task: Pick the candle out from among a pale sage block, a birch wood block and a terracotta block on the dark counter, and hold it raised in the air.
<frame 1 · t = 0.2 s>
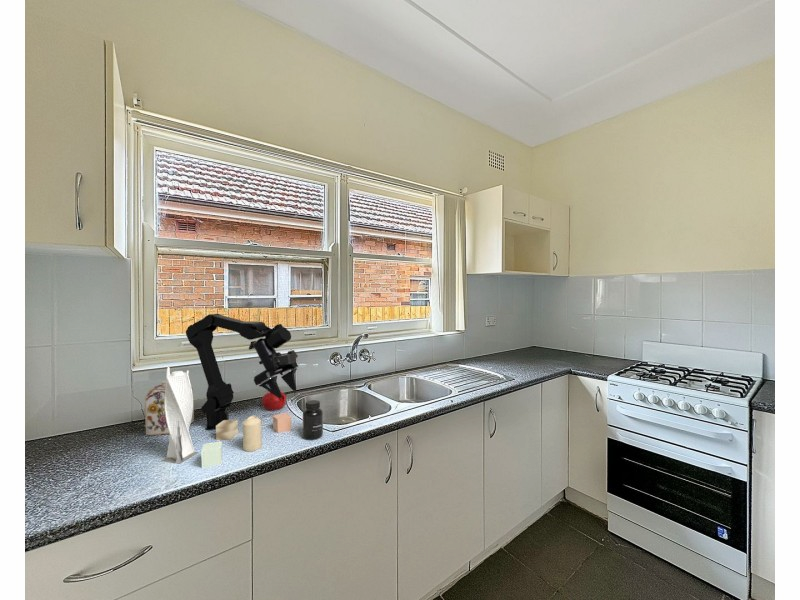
hand: (288, 393, 121), 15 cm above the table, tool tilted 30°, fingers open, 9 cm apart
terracotta block: (282, 429, 128), on the table
supplement bottle: (313, 436, 122), on the table
sage block: (212, 462, 104), on the table
pomegranate: (274, 408, 150), on the table
skyscraper: (180, 457, 109), on the table
candle: (252, 448, 113), on the table
birch block: (227, 437, 122), on the table
decorative jar: (171, 429, 129), on the table
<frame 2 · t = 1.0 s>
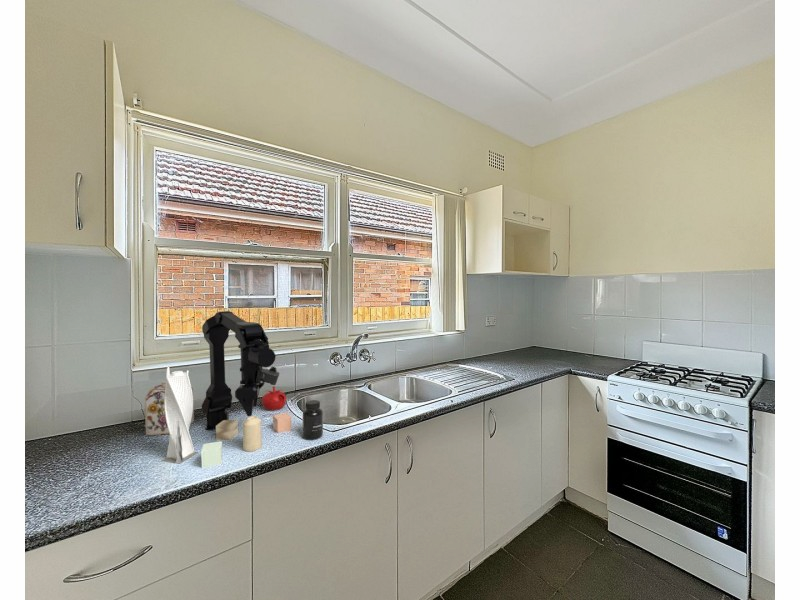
hand: (252, 410, 113), 12 cm above the table, tool pointing down, fingers open, 9 cm apart
nothing on the table moved.
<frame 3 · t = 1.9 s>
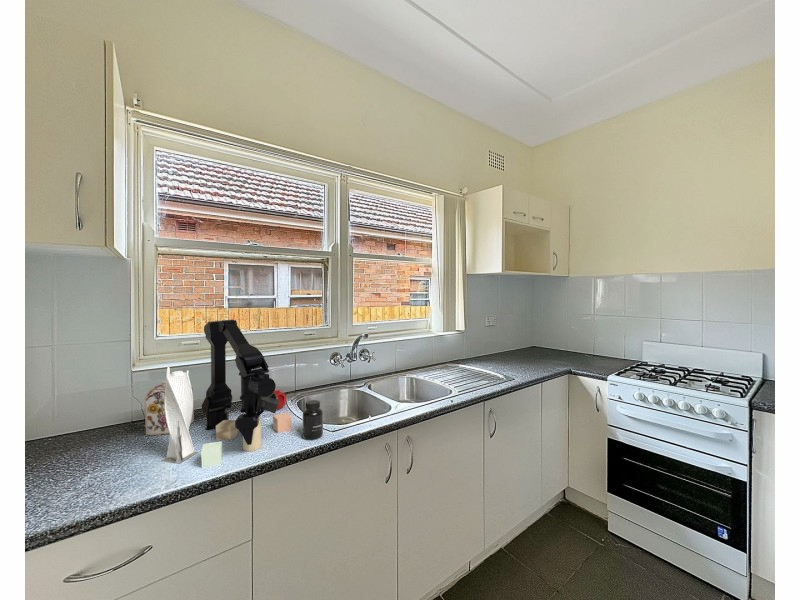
hand: (252, 438, 113), 3 cm above the table, tool pointing down, fingers open, 9 cm apart
nothing on the table moved.
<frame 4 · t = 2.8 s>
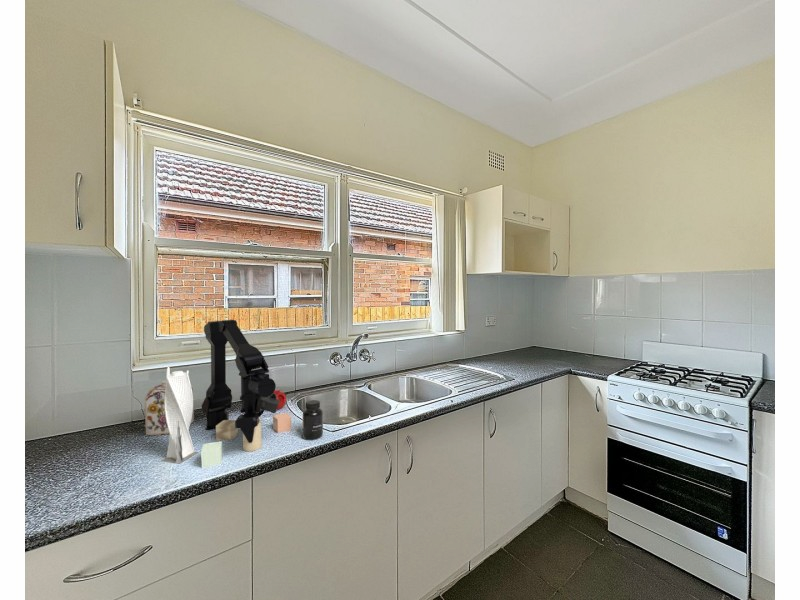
hand: (252, 438, 113), 3 cm above the table, tool pointing down, fingers closed on candle, 5 cm apart
candle: (252, 448, 113), on the table, touching gripper
everything else where it was.
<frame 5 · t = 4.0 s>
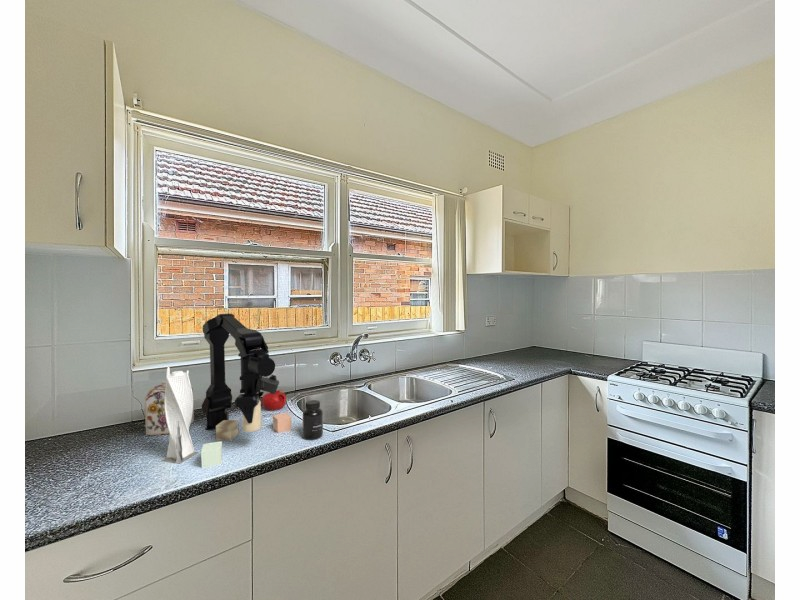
hand: (251, 419, 113), 9 cm above the table, tool pointing down, fingers closed on candle, 5 cm apart
candle: (252, 429, 113), point 6 cm above the table, touching gripper
everything else where it was.
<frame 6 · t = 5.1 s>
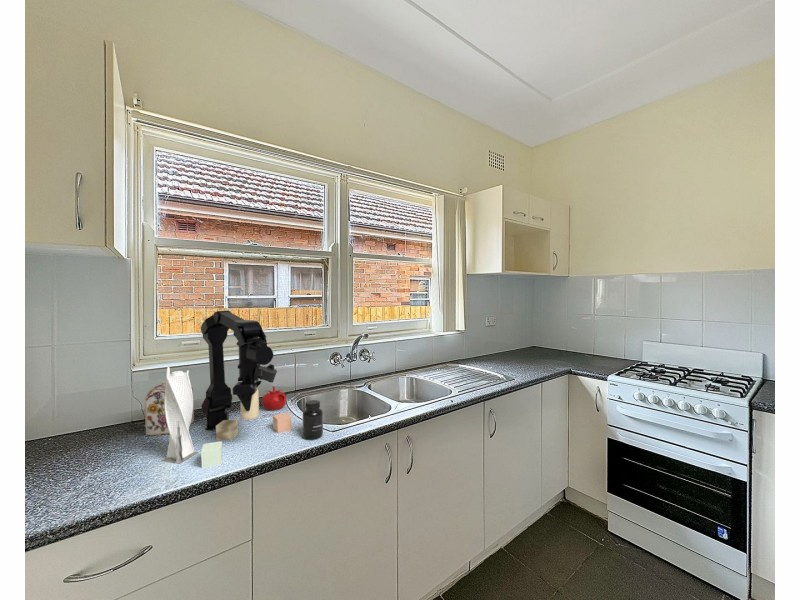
hand: (249, 407, 114), 13 cm above the table, tool pointing down, fingers closed on candle, 5 cm apart
candle: (249, 417, 114), point 9 cm above the table, touching gripper
everything else where it was.
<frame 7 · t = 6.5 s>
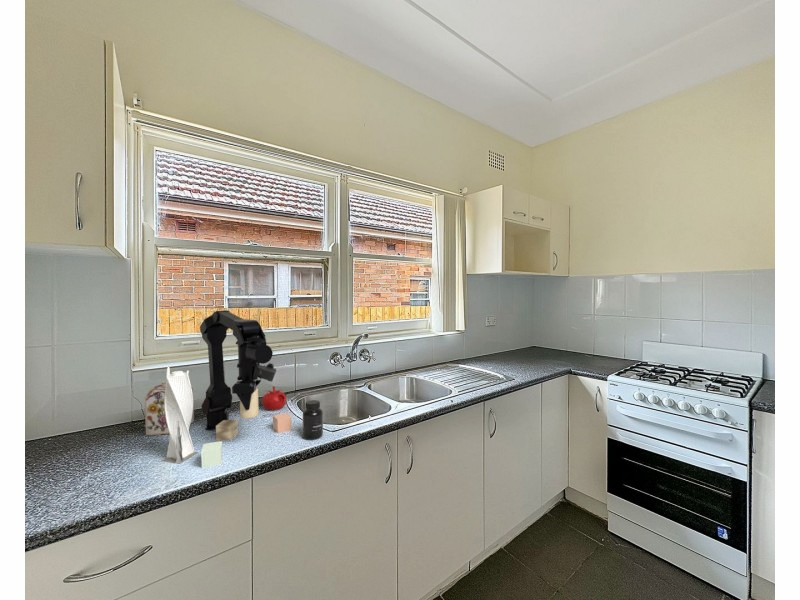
hand: (249, 406, 115), 13 cm above the table, tool pointing down, fingers closed on candle, 5 cm apart
candle: (249, 416, 115), point 10 cm above the table, touching gripper
everything else where it was.
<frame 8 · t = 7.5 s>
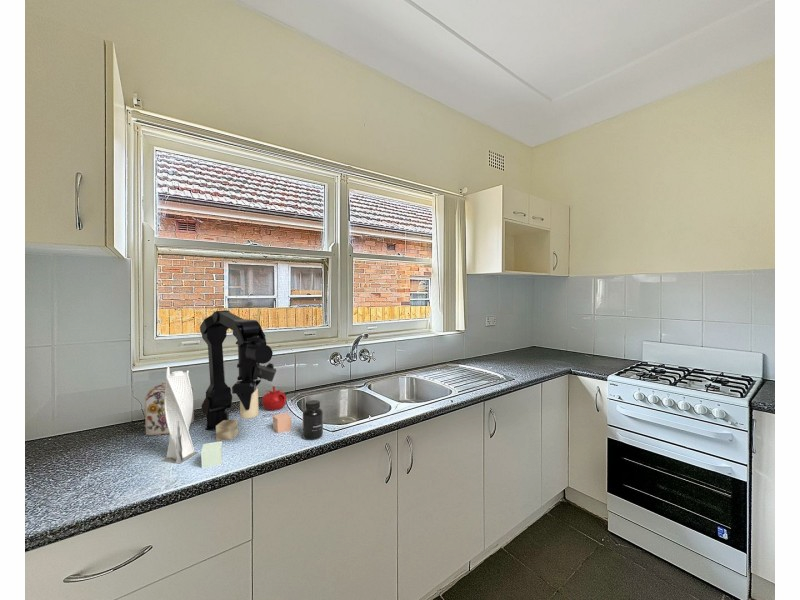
hand: (249, 406, 115), 13 cm above the table, tool pointing down, fingers closed on candle, 5 cm apart
candle: (249, 416, 115), point 10 cm above the table, touching gripper
everything else where it was.
at the end: the gripper is holding candle; candle point 9.7 cm above the table; terracotta block moved 0.1 cm from its start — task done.
